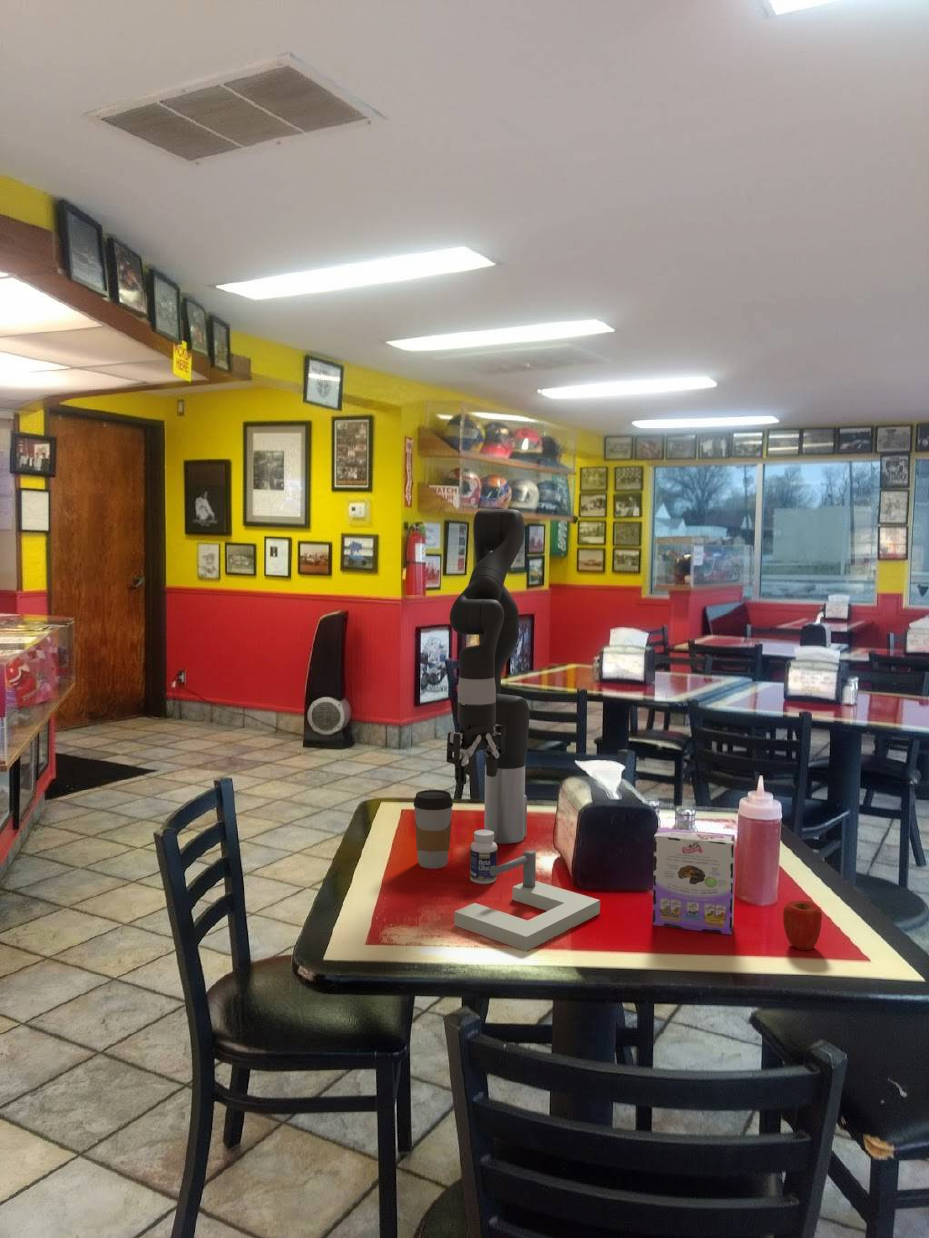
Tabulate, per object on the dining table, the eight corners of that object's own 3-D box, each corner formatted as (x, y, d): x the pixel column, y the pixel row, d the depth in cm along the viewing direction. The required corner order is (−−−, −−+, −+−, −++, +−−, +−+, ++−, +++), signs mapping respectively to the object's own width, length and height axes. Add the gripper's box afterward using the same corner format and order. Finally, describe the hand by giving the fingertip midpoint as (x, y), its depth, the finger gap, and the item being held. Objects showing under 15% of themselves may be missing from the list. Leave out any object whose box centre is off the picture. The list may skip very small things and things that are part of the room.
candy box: (733, 923, 167) (736, 833, 165) (731, 936, 161) (734, 843, 160) (655, 913, 171) (657, 825, 170) (651, 925, 166) (653, 834, 164)
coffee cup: (451, 870, 193) (452, 799, 192) (411, 870, 193) (411, 799, 192) (453, 857, 201) (453, 789, 200) (414, 857, 201) (414, 788, 200)
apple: (789, 935, 162) (791, 893, 161) (826, 945, 158) (827, 902, 157) (776, 947, 157) (777, 903, 156) (813, 957, 153) (814, 913, 152)
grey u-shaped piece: (530, 891, 181) (530, 846, 181) (599, 913, 171) (600, 865, 170) (454, 925, 165) (454, 875, 164) (526, 951, 154) (527, 898, 154)
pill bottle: (478, 886, 184) (478, 837, 183) (465, 877, 189) (465, 830, 188) (501, 881, 187) (502, 834, 186) (488, 873, 191) (489, 826, 191)
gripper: (488, 693, 192) (487, 770, 194) (437, 701, 182) (437, 782, 184) (515, 697, 187) (514, 777, 188) (464, 706, 177) (464, 790, 178)
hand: (476, 780), depth 186 cm, fingers open, 8 cm apart
